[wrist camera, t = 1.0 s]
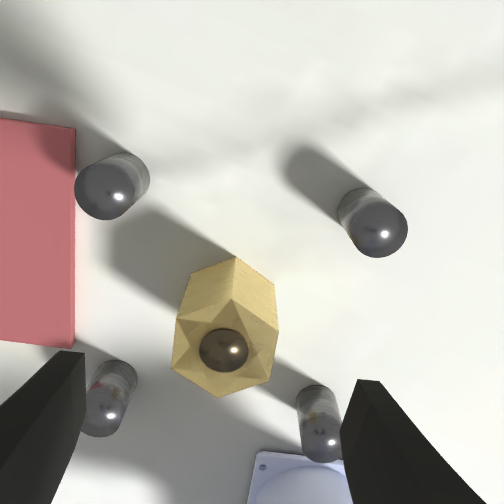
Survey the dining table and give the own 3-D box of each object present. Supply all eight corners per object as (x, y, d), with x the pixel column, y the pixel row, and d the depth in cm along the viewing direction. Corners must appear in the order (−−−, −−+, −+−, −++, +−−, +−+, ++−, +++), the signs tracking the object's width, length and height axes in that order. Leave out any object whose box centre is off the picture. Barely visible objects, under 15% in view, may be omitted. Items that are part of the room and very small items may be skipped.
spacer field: (331, 419, 27) (341, 466, 23) (96, 391, 26) (73, 434, 23) (390, 191, 22) (414, 209, 19) (102, 149, 21) (74, 160, 18)
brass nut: (263, 345, 25) (265, 405, 20) (185, 335, 25) (168, 393, 20) (277, 262, 23) (284, 306, 18) (194, 250, 23) (178, 292, 18)
